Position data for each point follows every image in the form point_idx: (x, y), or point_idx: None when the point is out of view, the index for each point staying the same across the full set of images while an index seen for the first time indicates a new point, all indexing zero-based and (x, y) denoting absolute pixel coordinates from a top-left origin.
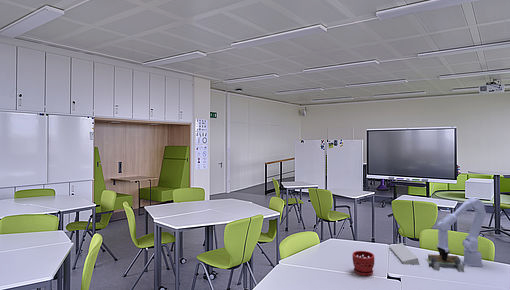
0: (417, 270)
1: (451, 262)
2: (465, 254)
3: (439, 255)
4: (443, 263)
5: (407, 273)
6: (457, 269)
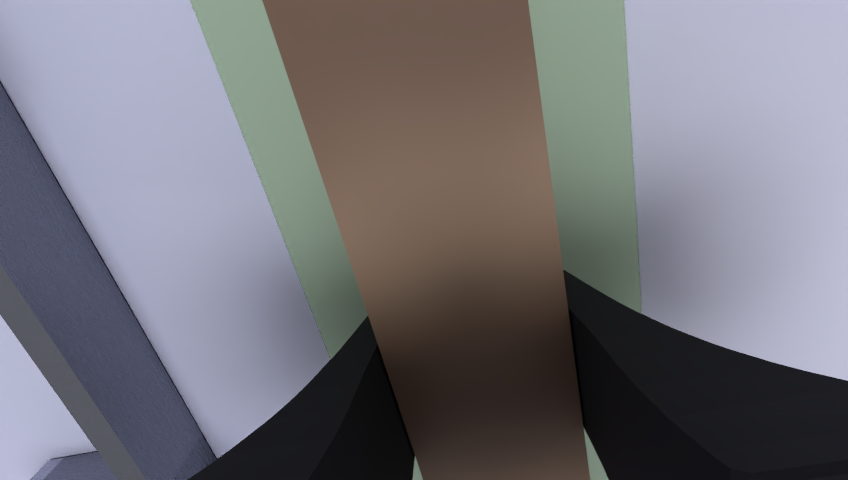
0: None
1: None
2: None
3: (502, 288)
4: (326, 283)
5: None
6: (82, 465)
